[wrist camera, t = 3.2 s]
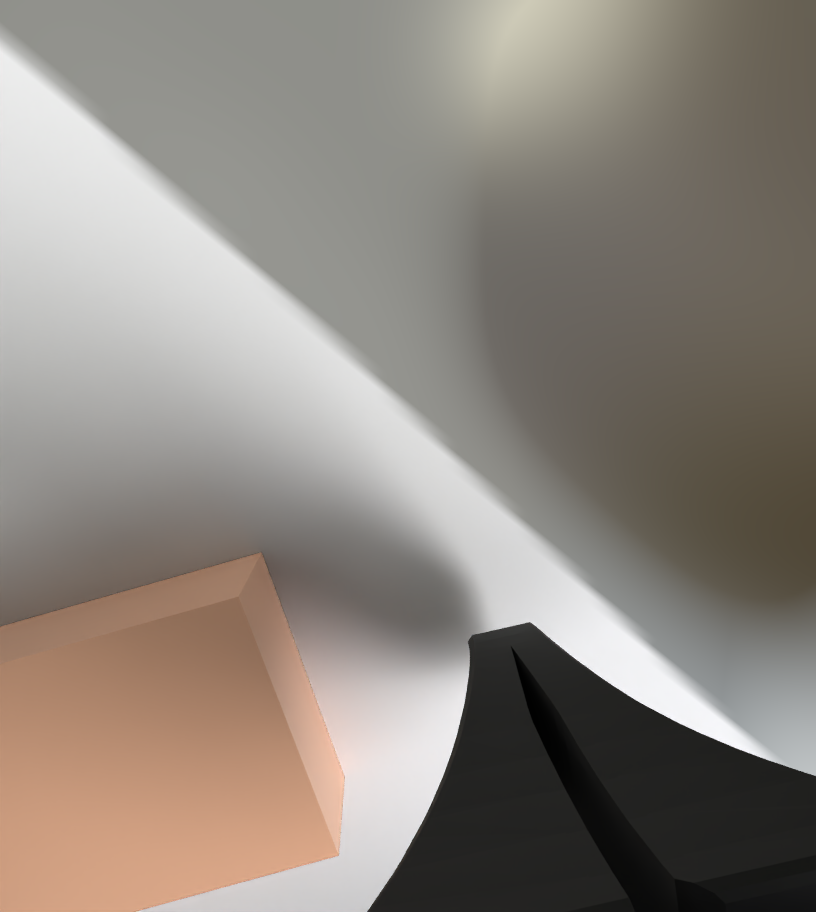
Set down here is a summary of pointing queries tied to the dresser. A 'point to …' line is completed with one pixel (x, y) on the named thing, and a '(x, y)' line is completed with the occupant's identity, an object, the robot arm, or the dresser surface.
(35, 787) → the slab
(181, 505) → the dresser surface
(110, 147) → the dresser surface
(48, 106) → the dresser surface
